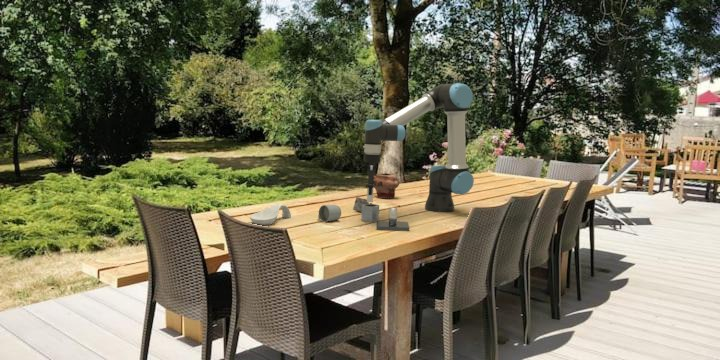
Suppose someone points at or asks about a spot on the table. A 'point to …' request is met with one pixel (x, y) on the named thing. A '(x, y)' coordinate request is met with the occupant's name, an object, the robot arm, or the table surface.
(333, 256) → the table surface
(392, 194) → the decorative planter
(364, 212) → the tube
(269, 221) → the spoon rest
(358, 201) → the caster wheel
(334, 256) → the table surface
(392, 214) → the shaft block
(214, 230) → the table surface
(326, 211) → the ceramic mug
